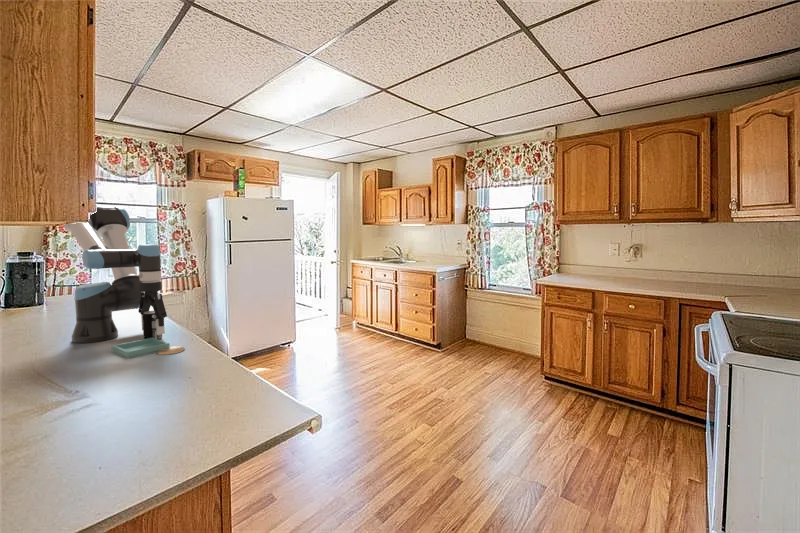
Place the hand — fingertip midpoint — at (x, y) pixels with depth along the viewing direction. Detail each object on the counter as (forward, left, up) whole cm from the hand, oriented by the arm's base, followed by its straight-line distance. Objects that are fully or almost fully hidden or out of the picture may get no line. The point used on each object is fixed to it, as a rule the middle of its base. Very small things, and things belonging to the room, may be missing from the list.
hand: (153, 331), depth 154 cm
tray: (+12, -9, -4) cm, 15 cm away
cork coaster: (+22, -3, -4) cm, 22 cm away
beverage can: (0, 0, -4) cm, 4 cm away
